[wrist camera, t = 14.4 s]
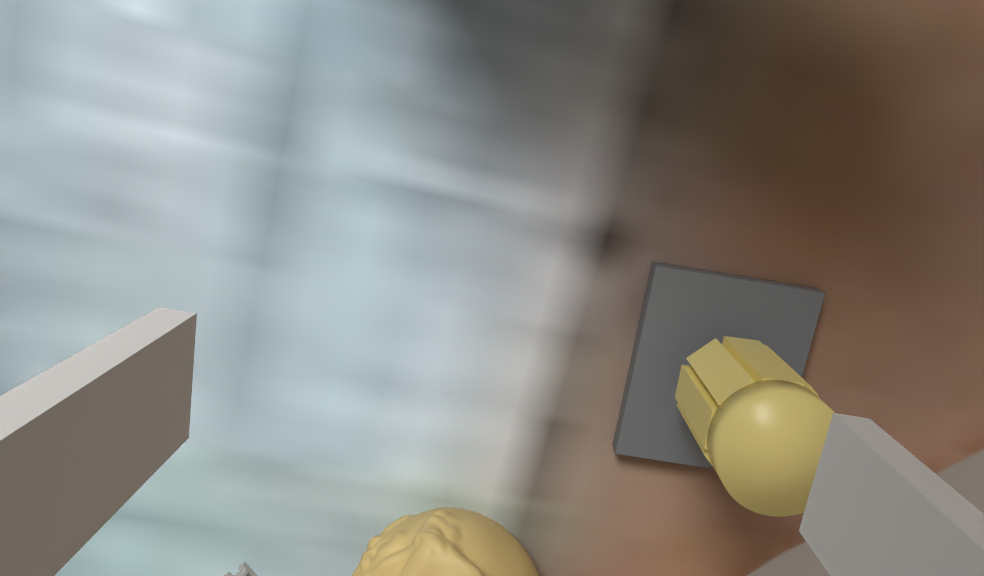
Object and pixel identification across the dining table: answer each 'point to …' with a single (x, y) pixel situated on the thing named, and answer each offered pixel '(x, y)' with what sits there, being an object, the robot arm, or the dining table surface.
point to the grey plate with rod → (688, 327)
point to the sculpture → (445, 547)
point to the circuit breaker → (243, 571)
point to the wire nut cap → (754, 423)
